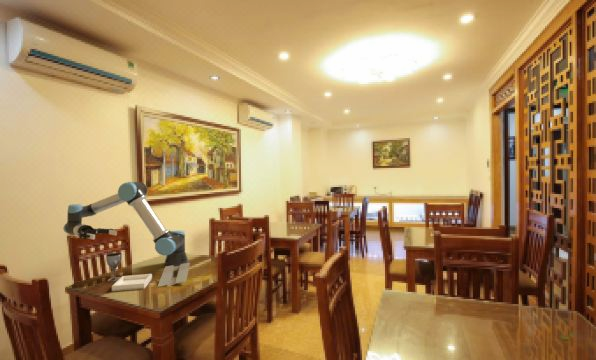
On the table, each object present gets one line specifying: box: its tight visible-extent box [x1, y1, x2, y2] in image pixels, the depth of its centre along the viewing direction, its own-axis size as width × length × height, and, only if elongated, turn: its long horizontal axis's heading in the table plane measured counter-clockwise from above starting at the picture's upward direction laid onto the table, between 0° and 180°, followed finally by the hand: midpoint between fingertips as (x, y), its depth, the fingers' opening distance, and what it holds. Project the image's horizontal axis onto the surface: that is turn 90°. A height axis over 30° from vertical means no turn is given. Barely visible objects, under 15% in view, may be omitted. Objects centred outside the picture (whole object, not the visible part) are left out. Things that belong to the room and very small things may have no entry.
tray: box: [111, 273, 153, 292], centre depth 168 cm, size 16×16×3 cm
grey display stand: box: [157, 262, 191, 287], centre depth 174 cm, size 16×9×15 cm
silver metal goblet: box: [105, 252, 123, 282], centre depth 178 cm, size 8×8×15 cm
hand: (105, 235), depth 180 cm, fingers open, 13 cm apart
